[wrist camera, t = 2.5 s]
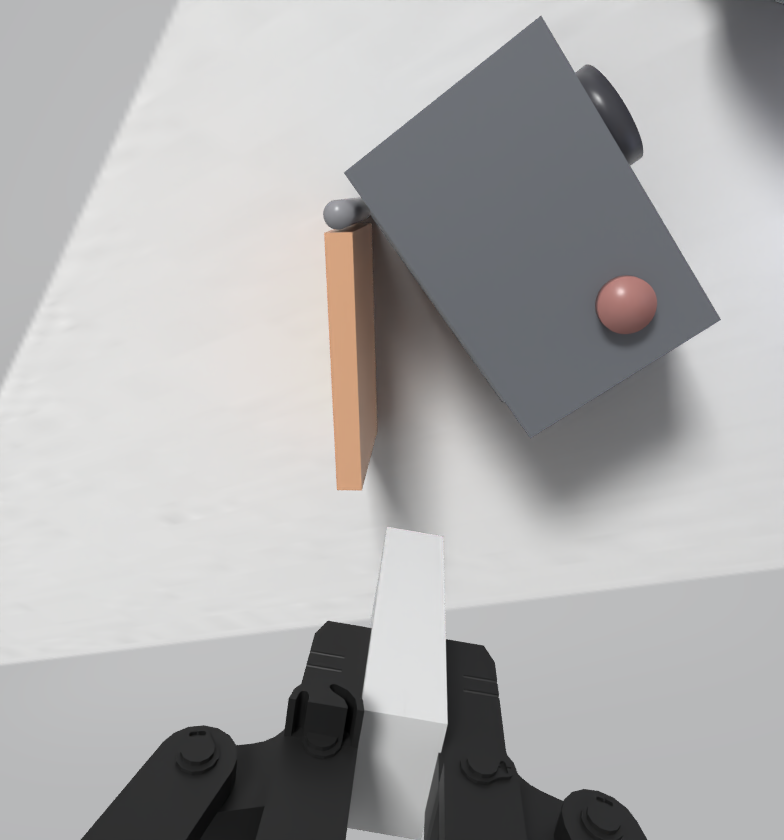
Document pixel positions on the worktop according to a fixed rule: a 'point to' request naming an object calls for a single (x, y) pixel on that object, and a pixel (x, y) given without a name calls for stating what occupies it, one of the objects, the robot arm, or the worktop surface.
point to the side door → (351, 338)
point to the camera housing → (535, 229)
